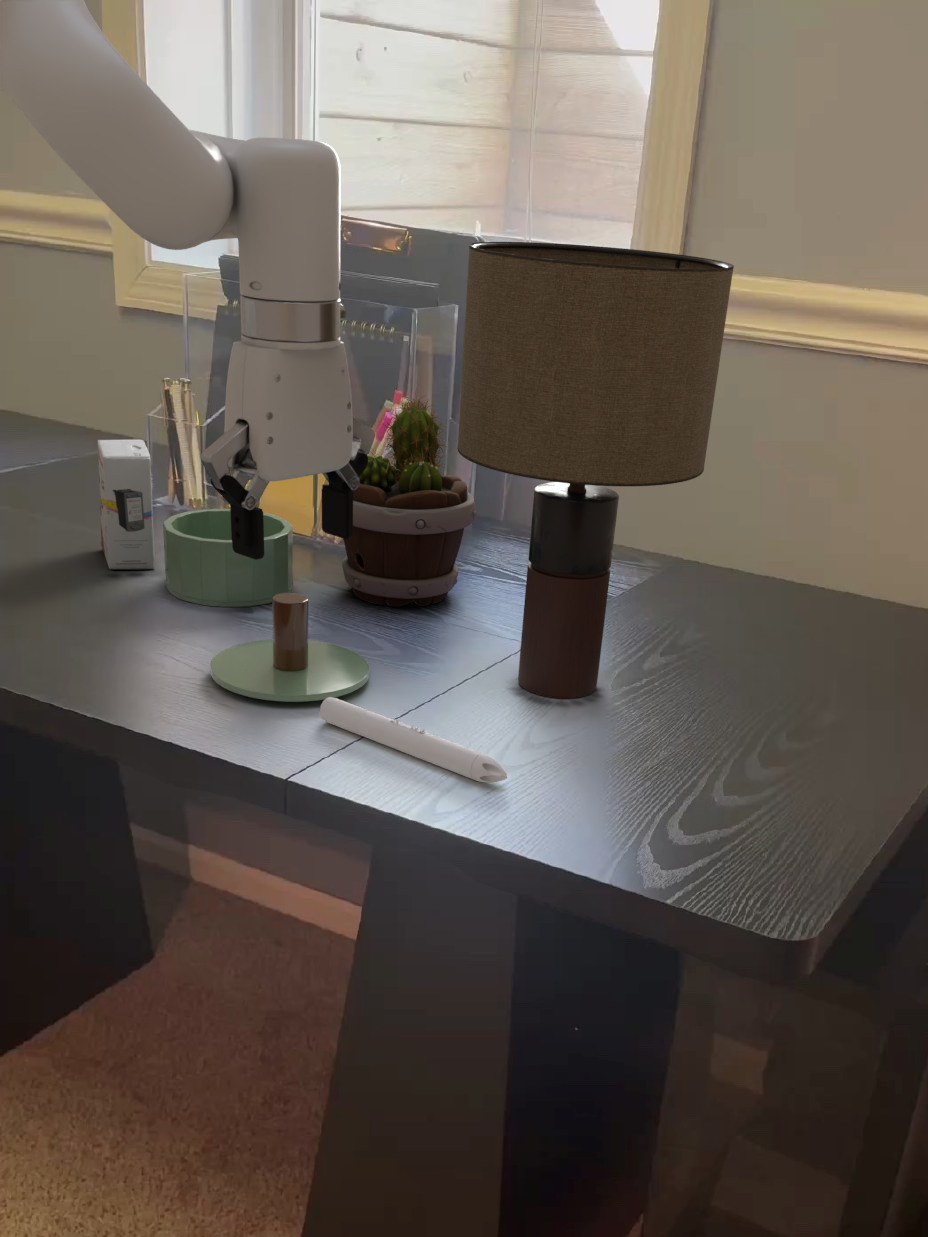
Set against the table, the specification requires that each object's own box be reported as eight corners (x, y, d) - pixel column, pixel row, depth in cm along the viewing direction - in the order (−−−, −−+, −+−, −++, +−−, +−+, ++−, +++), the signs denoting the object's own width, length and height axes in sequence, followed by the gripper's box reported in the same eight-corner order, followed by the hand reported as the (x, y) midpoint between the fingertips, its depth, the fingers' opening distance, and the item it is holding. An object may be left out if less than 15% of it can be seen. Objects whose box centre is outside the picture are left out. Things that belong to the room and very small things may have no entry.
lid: (224, 713, 105) (221, 628, 101) (199, 655, 116) (196, 576, 113) (386, 703, 109) (389, 620, 106) (348, 647, 120) (349, 571, 117)
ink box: (101, 548, 143) (93, 437, 137) (148, 547, 144) (142, 438, 139) (108, 571, 135) (100, 456, 130) (157, 570, 137) (152, 456, 131)
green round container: (175, 609, 126) (172, 543, 123) (160, 571, 137) (156, 509, 134) (303, 604, 130) (303, 540, 127) (278, 567, 141) (278, 507, 138)
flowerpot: (441, 625, 127) (453, 414, 118) (301, 599, 132) (302, 393, 122) (491, 587, 140) (506, 393, 130) (361, 564, 144) (366, 374, 134)
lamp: (715, 693, 116) (785, 267, 100) (567, 749, 103) (619, 269, 86) (549, 631, 128) (586, 242, 112) (397, 673, 115) (414, 240, 99)
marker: (514, 786, 97) (517, 757, 95) (497, 794, 95) (500, 765, 94) (336, 717, 106) (337, 690, 105) (318, 724, 104) (319, 697, 103)
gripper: (339, 311, 107) (339, 519, 115) (167, 322, 95) (180, 553, 103) (405, 322, 103) (400, 537, 111) (233, 335, 91) (241, 575, 99)
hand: (294, 544), depth 107 cm, fingers open, 9 cm apart
